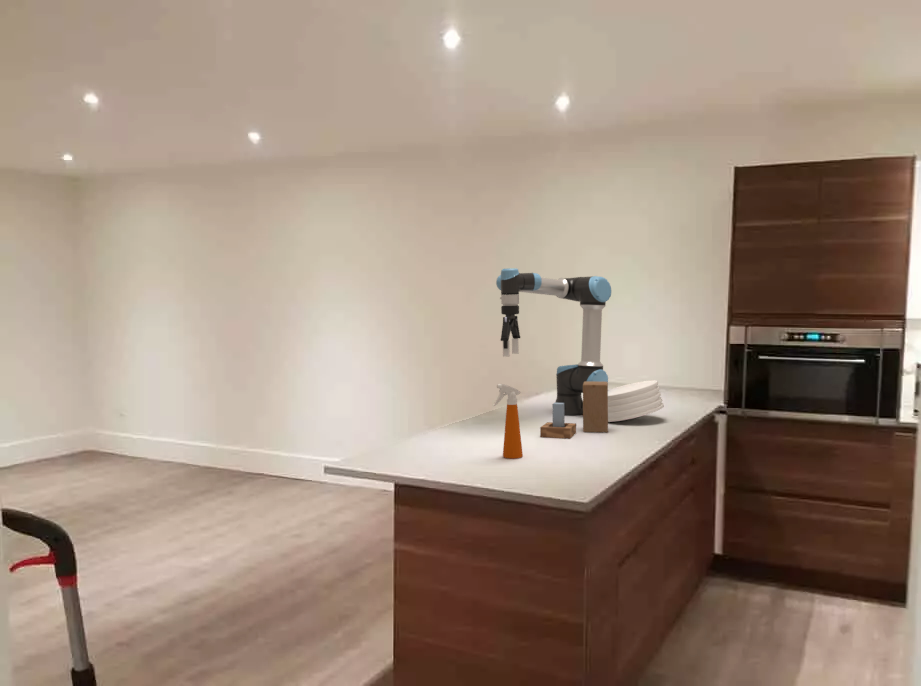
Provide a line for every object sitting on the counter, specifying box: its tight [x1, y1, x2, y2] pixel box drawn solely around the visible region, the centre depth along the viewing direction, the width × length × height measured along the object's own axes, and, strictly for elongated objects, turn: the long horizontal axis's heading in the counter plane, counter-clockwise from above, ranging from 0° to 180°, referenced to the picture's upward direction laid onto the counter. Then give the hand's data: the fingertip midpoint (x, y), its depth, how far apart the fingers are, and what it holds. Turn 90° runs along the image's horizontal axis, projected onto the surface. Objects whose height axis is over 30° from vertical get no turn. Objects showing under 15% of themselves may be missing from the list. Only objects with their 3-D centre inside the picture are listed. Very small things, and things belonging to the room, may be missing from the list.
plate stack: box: [608, 379, 665, 423], centre depth 335 cm, size 28×28×12 cm
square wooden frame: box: [539, 421, 577, 440], centre depth 304 cm, size 12×12×4 cm
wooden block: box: [582, 381, 609, 433], centre depth 312 cm, size 10×10×20 cm
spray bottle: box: [492, 383, 524, 460], centre depth 265 cm, size 7×11×26 cm, turn 111°
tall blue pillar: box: [552, 402, 566, 427], centre depth 304 cm, size 4×4×13 cm
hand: (510, 355), depth 318 cm, fingers open, 13 cm apart
